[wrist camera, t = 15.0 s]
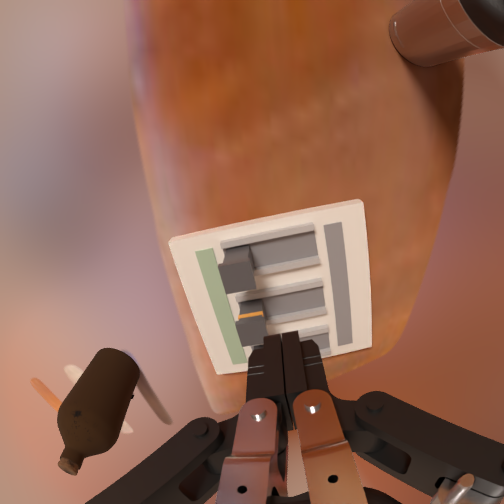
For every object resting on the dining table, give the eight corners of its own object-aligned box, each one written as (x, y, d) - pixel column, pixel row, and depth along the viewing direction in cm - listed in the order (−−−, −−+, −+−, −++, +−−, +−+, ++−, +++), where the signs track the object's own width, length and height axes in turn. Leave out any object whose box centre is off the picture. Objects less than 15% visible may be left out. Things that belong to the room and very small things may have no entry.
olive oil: (83, 349, 51) (24, 445, 28) (122, 339, 49) (63, 451, 26) (113, 387, 55) (70, 484, 31) (153, 381, 53) (114, 491, 30)
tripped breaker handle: (263, 296, 42) (263, 320, 37) (268, 317, 43) (269, 342, 38) (238, 300, 43) (235, 324, 37) (244, 321, 44) (242, 347, 38)
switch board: (358, 198, 39) (380, 215, 32) (368, 339, 48) (382, 372, 40) (172, 237, 42) (153, 261, 34) (218, 366, 51) (212, 401, 43)
